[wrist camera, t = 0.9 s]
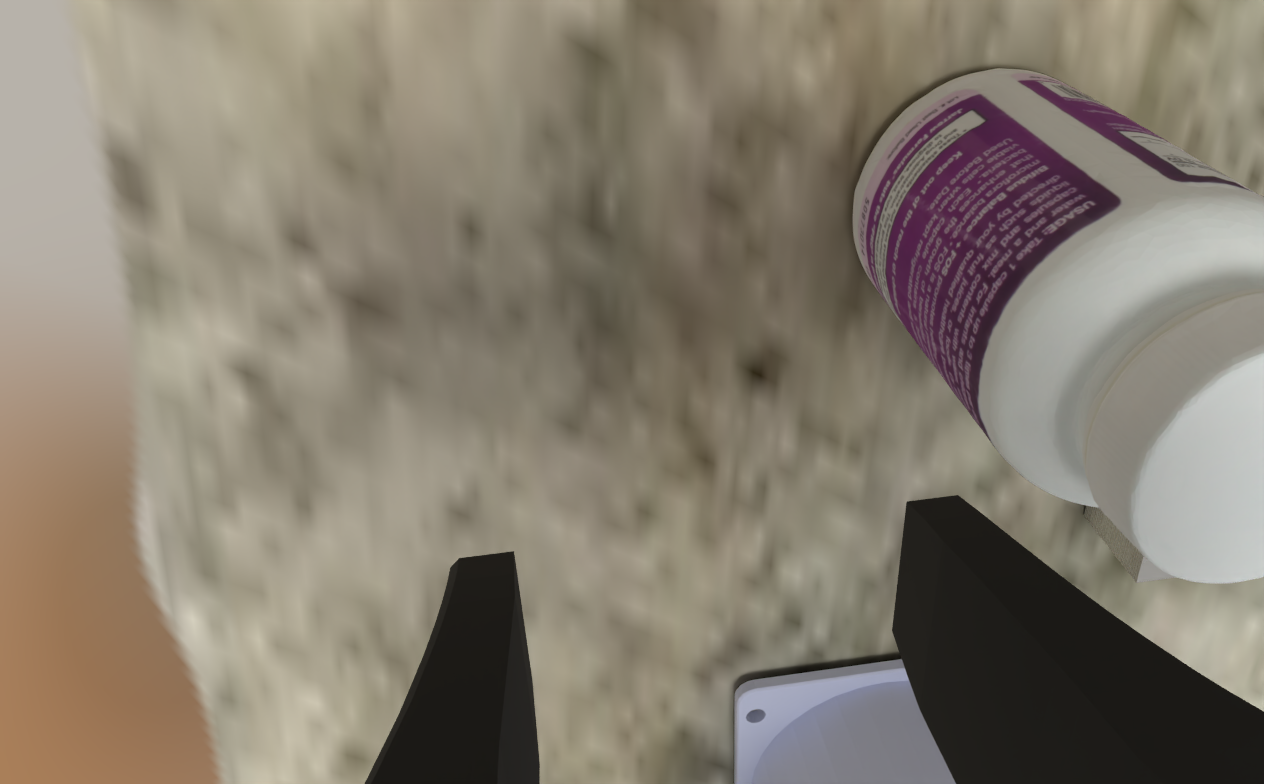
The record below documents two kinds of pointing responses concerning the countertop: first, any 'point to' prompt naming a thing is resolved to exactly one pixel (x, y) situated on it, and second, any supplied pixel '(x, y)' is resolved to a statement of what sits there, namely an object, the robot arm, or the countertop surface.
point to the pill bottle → (1084, 306)
